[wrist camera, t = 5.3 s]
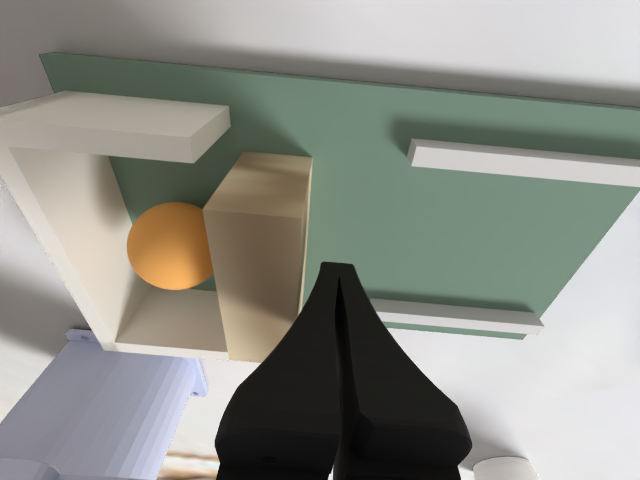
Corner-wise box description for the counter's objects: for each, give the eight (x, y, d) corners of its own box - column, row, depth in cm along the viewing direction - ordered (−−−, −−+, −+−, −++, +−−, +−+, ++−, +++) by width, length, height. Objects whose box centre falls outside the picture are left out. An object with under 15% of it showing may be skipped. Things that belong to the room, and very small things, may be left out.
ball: (197, 319, 13) (242, 262, 16) (179, 245, 11) (235, 196, 14) (120, 294, 14) (177, 245, 17) (87, 221, 11) (160, 180, 15)
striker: (253, 283, 18) (229, 359, 14) (244, 151, 13) (202, 209, 9) (304, 287, 18) (294, 365, 14) (312, 157, 13) (301, 218, 9)
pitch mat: (147, 296, 20) (133, 318, 19) (54, 52, 12) (15, 56, 10) (516, 329, 20) (530, 353, 19) (678, 111, 12) (725, 123, 11)
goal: (144, 293, 19) (104, 350, 16) (65, 90, 12) (-36, 116, 9) (247, 302, 19) (229, 361, 16) (228, 105, 12) (188, 137, 9)
